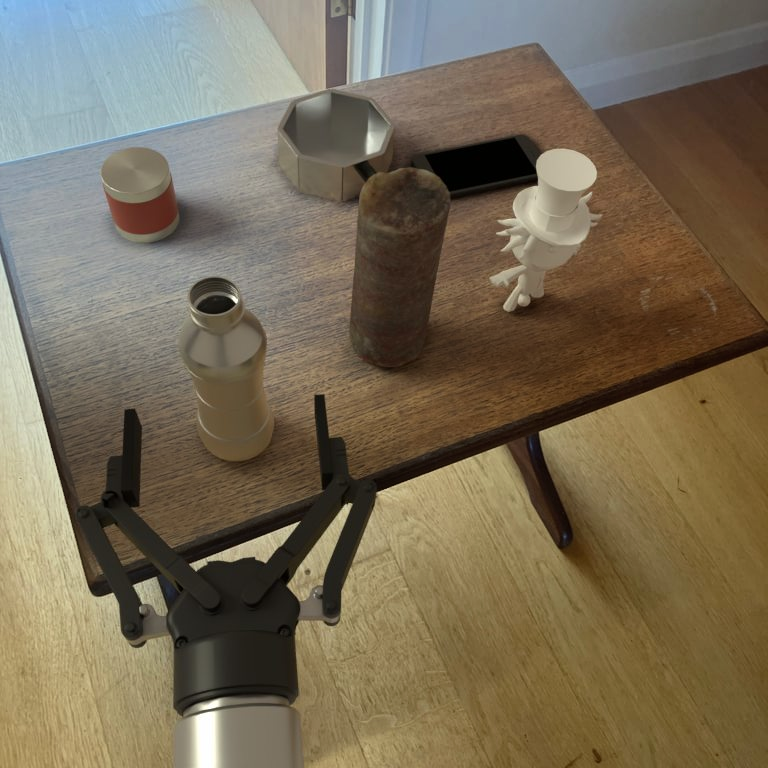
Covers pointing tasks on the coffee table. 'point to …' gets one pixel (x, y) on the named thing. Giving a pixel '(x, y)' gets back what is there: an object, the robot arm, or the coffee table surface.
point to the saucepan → (334, 143)
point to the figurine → (547, 222)
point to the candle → (396, 263)
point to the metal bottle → (226, 370)
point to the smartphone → (482, 164)
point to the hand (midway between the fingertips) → (227, 410)
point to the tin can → (140, 194)
